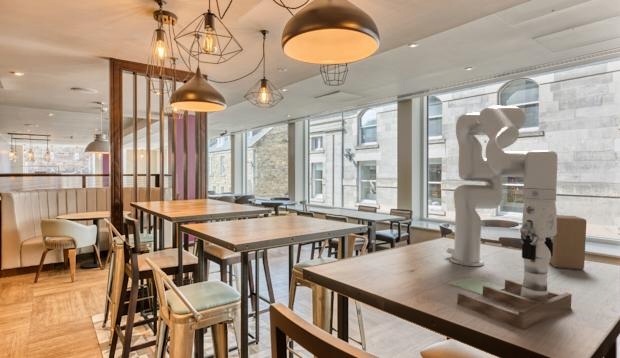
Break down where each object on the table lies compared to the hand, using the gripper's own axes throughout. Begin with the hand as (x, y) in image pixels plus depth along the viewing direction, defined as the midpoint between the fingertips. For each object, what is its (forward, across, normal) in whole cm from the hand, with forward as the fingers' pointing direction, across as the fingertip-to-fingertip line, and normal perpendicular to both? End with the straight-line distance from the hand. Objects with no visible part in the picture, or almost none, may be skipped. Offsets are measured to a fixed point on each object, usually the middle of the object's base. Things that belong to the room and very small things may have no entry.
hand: (537, 257), depth 93 cm
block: (+13, +56, +15) cm, 60 cm away
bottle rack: (+14, -6, +4) cm, 15 cm away
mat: (+13, 0, +18) cm, 22 cm away
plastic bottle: (+14, 0, +1) cm, 14 cm away
